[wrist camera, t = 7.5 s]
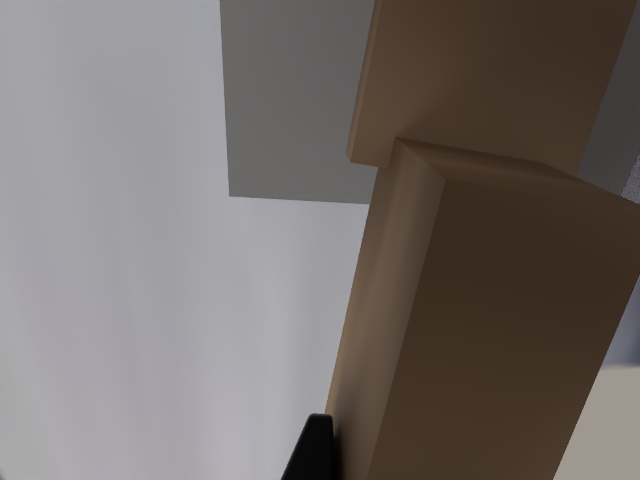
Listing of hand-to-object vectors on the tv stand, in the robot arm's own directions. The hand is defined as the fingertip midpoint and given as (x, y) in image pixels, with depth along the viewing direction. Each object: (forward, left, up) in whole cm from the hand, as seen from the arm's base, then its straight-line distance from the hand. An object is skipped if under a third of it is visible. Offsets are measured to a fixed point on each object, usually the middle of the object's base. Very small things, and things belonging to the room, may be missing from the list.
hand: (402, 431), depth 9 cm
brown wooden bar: (0, 0, -1) cm, 1 cm away
